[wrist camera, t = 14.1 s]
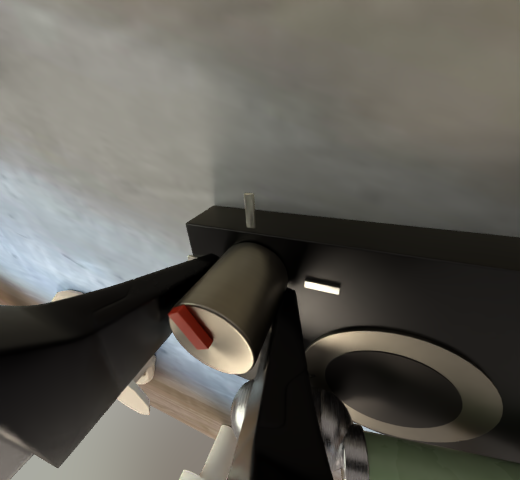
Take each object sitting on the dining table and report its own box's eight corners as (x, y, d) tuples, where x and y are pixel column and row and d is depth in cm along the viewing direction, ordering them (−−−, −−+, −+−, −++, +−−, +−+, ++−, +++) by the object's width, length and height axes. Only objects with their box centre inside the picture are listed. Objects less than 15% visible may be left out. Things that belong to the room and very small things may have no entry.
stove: (842, 204, 5) (1190, 267, 3) (523, 439, 12) (560, 510, 10) (205, 174, 11) (169, 188, 9) (233, 339, 18) (216, 370, 16)
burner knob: (301, 291, 9) (271, 387, 6) (247, 303, 11) (200, 382, 8) (265, 231, 9) (207, 303, 5) (212, 253, 10) (144, 318, 7)
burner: (551, 369, 7) (556, 375, 7) (454, 458, 11) (455, 463, 11) (307, 308, 10) (306, 311, 10) (299, 397, 14) (298, 400, 14)
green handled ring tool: (871, 433, 7) (1316, 687, 4) (700, 494, 10) (871, 663, 7) (231, 346, 12) (204, 422, 9) (248, 403, 15) (231, 473, 12)
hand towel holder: (-7, 297, 25) (118, 356, 18) (39, 275, 28) (158, 317, 21) (64, 379, 33) (168, 441, 26) (93, 353, 37) (191, 402, 29)
